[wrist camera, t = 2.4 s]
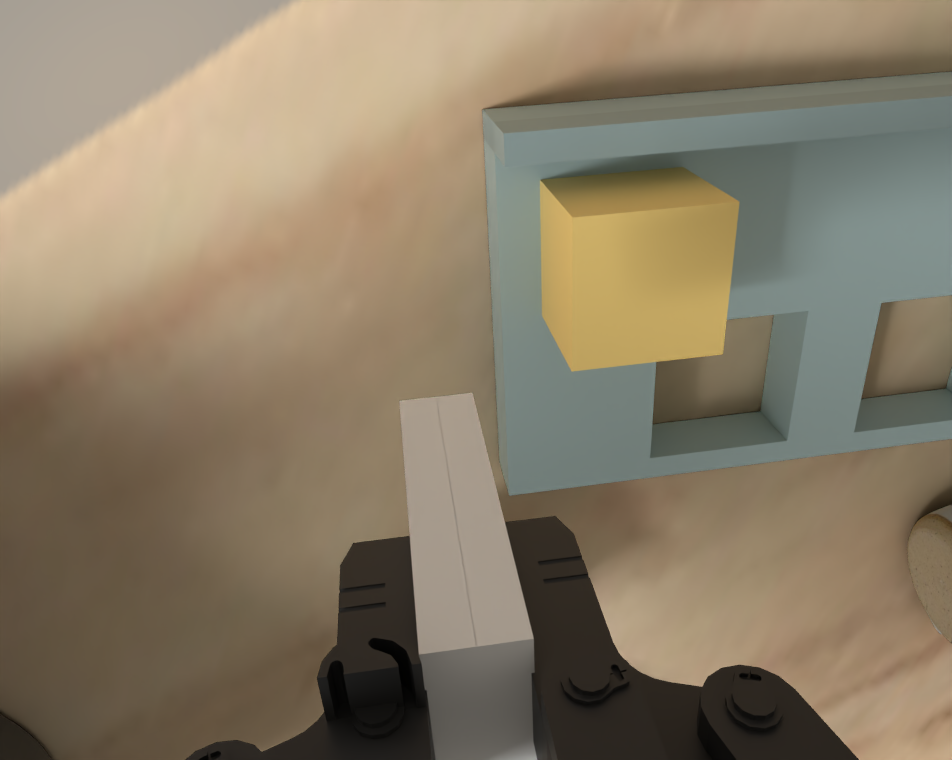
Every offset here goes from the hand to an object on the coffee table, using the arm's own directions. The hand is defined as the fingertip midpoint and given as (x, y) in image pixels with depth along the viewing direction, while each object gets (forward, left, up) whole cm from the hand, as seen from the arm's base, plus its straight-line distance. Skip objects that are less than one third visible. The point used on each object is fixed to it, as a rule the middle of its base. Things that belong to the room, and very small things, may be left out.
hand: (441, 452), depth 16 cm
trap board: (+16, -3, -15) cm, 22 cm away
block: (+7, 0, -12) cm, 14 cm away
